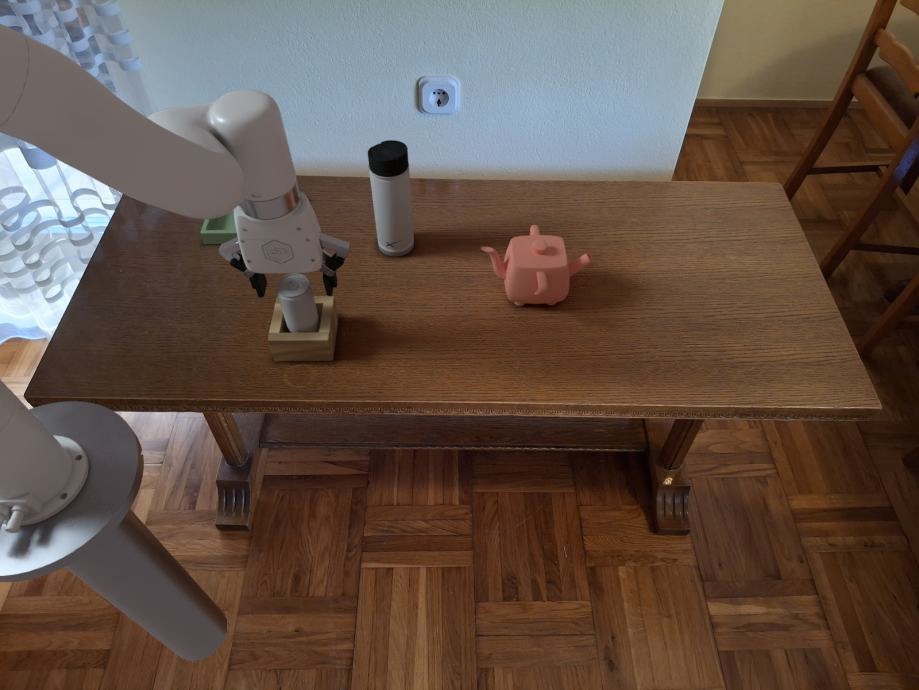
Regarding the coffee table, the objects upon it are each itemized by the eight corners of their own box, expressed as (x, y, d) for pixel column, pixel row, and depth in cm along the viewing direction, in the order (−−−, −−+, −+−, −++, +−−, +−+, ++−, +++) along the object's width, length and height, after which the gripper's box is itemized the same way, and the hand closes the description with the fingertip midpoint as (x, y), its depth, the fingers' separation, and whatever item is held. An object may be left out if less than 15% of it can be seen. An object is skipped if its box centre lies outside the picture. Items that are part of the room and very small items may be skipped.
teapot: (539, 251, 114) (545, 205, 106) (590, 289, 108) (600, 244, 100) (478, 289, 108) (479, 244, 100) (528, 332, 102) (533, 287, 95)
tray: (282, 243, 115) (279, 232, 113) (204, 244, 115) (199, 233, 112) (292, 198, 123) (289, 186, 121) (219, 198, 122) (215, 187, 120)
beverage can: (299, 355, 99) (283, 302, 90) (286, 335, 102) (269, 281, 92) (328, 342, 101) (315, 288, 91) (314, 322, 103) (301, 267, 94)
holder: (333, 360, 99) (328, 339, 95) (274, 361, 98) (267, 340, 95) (338, 317, 104) (334, 295, 100) (283, 317, 104) (276, 296, 100)
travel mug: (394, 263, 112) (385, 165, 96) (371, 244, 115) (358, 145, 99) (422, 246, 114) (417, 148, 99) (398, 228, 117) (390, 130, 102)
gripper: (190, 215, 77) (231, 310, 91) (336, 212, 77) (355, 308, 91) (204, 175, 82) (241, 272, 95) (342, 173, 82) (359, 270, 95)
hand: (297, 289), depth 93 cm, fingers open, 9 cm apart
